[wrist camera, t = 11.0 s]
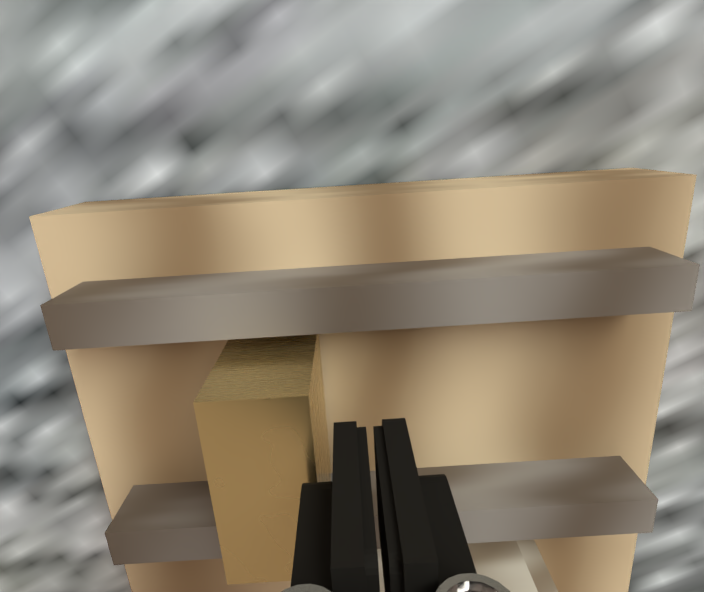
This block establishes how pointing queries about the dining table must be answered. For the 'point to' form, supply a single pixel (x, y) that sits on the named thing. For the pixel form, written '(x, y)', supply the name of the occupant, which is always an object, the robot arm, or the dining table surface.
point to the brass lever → (262, 449)
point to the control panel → (389, 351)
